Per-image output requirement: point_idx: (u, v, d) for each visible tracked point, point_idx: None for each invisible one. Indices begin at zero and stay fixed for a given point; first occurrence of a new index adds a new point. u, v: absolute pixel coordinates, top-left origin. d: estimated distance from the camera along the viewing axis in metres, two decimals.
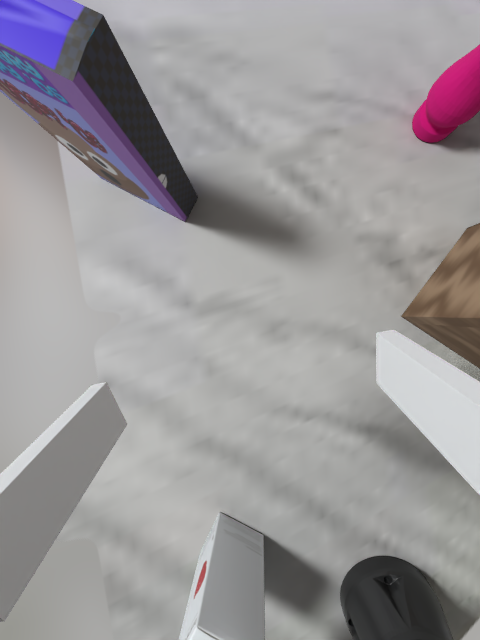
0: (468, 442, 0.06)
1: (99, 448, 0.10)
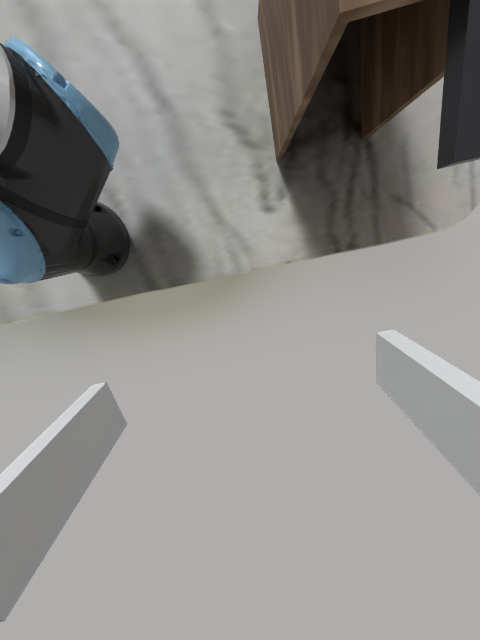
0: (468, 442, 0.06)
1: (99, 448, 0.10)
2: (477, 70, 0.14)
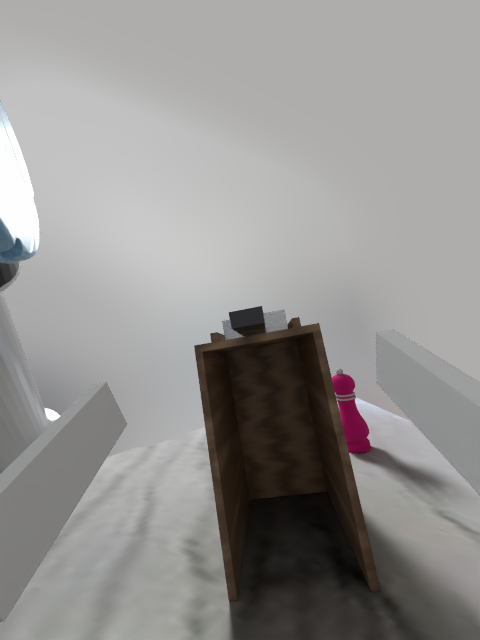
0: (468, 442, 0.06)
1: (99, 448, 0.10)
2: None
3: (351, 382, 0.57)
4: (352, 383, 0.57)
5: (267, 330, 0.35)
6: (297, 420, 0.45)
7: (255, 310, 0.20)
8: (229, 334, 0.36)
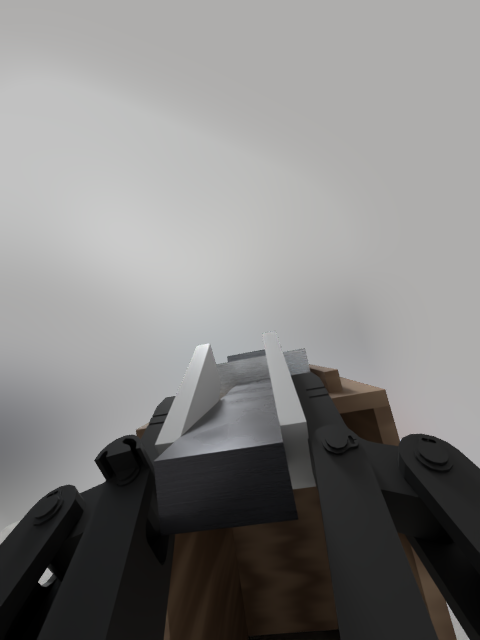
0: None
1: (214, 396, 0.11)
2: (228, 406, 0.10)
3: None
4: None
5: None
6: (320, 506, 0.29)
7: (257, 460, 0.05)
8: None
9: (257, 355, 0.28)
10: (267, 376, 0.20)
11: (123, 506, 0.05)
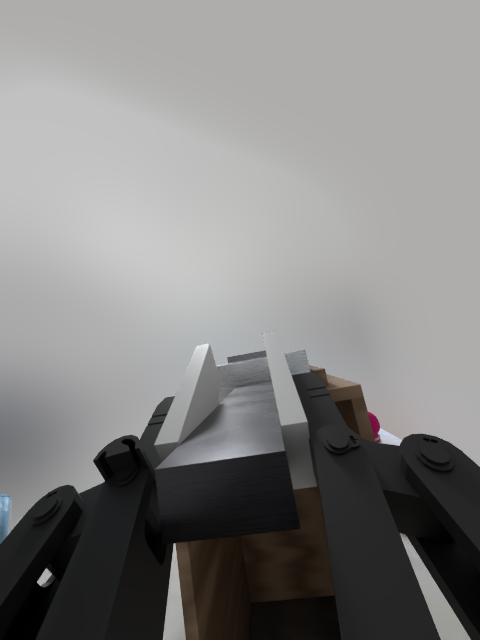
0: None
1: (214, 396, 0.11)
2: (229, 410, 0.10)
3: (376, 423, 0.46)
4: (377, 424, 0.46)
5: None
6: (313, 489, 0.33)
7: (259, 468, 0.05)
8: None
9: (257, 356, 0.28)
10: (267, 378, 0.20)
11: (122, 506, 0.05)
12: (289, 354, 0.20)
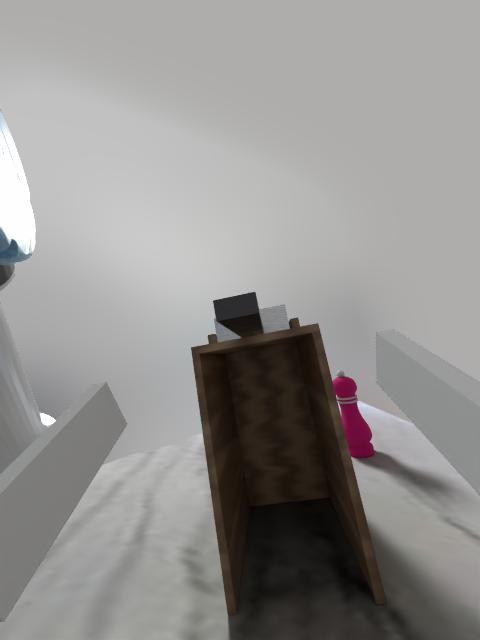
0: (468, 442, 0.06)
1: (99, 448, 0.10)
2: None
3: (353, 384, 0.56)
4: (354, 385, 0.56)
5: (265, 328, 0.30)
6: (298, 424, 0.44)
7: (247, 297, 0.15)
8: (222, 333, 0.31)
9: None
10: None
11: None
12: (274, 307, 0.31)
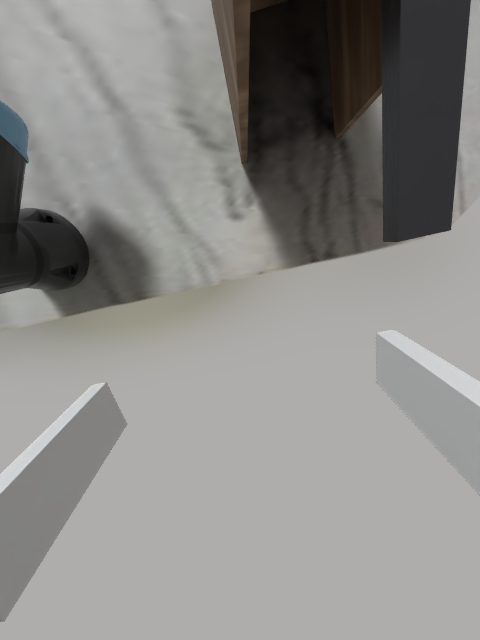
0: (468, 442, 0.06)
1: (99, 448, 0.10)
2: (417, 139, 0.12)
3: None
4: None
5: None
6: None
7: (435, 232, 0.14)
8: None
9: None
10: None
11: None
12: None
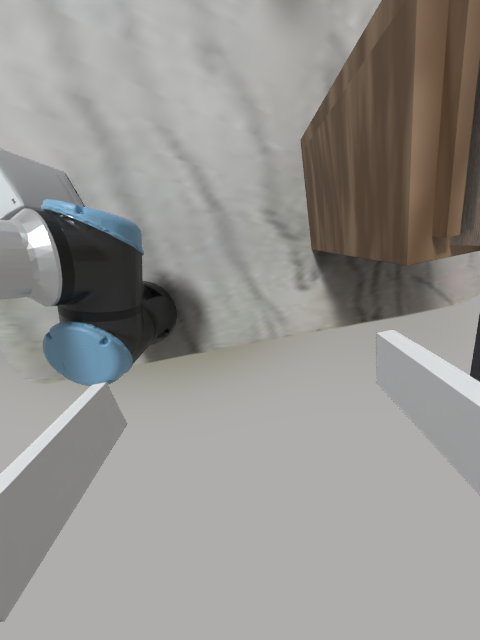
0: (468, 442, 0.06)
1: (99, 448, 0.10)
2: None
3: None
4: None
5: None
6: None
7: None
8: None
9: None
10: None
11: None
12: None
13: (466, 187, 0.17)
